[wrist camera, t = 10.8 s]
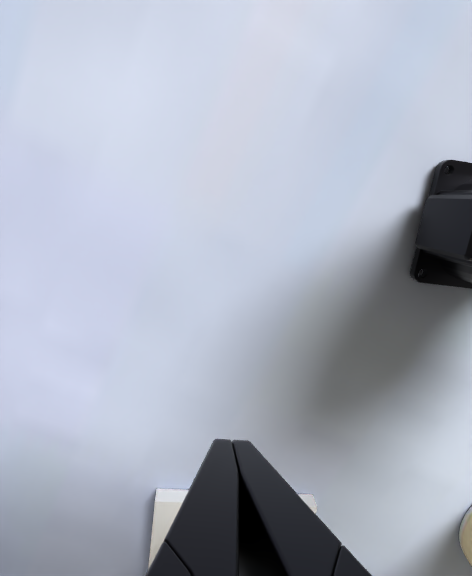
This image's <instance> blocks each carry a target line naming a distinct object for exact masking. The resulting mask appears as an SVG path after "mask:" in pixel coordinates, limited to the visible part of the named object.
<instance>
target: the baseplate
mask: <svg viewBox="0 0 472 576" xmlns="http://www.w3.org/2000/svg"><path fill="white" fill-rule="evenodd" d="M188 491H189V490H183V489H157V490H156V497H155V506H154V516H153V526H152V536H151V546H150V556H149V566H148V569H149V567H150V565H151V564H152V562H153V560H154V558H155V556H156V554H157V552H158V550H159V548H160V546H161V544H162V543H163V542H164V539H165V537H166V535H167V533H168V531H169V529H170V527H171V525H172V523H173V521H174V519H175V517H176V515H177V513H178V511H179V509H180V507H181V505H182V503H183V501H184V499H185V497H186V495H187V493H188ZM298 495H299V496H300V498H301V499H302V500H303V501H304V502H305V503H306V504H307V505H308V506H309V507H310V509H311V510H312V511H313V512H314V513H315V514H316V511H317V505H316V502H315V499H314V497H313V494H298Z"/></svg>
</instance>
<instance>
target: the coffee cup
mask: <svg viewBox="0 0 472 576" xmlns="http://www.w3.org/2000/svg"><path fill="white" fill-rule="evenodd" d="M459 541H460V545H461V548H462V551H463V553H464V555H465V556H466V558H467V560H468V561H469V563H470V565H471V566H472V506H471V507H470V508H469V510H468V511H467V513H466V514H465V516H464V518H463V520H462V523H461V526H460V531H459Z"/></svg>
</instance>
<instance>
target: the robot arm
mask: <svg viewBox="0 0 472 576" xmlns="http://www.w3.org/2000/svg"><path fill="white" fill-rule="evenodd" d="M446 166H448V168H449V172H448V174H446V173H445V168H446ZM416 245H417V246H416V250H415V254H414V258H413V262H412V267H411V271H410V276H411V278H412V279H413V280H415V281H418V282H421V283H430V284H438V285H447V286H455V287H464V288H472V163H468V162H462V161H456V160H445V161H442V162H440V163H439V164H438V165H437V167H436V170H435V174H434V178H433V182H432V186H431V190H430V194H429V197H428V198H427V199H426V203H425V207H424V211H423V215H422V219H421V223H420V227H419V231H418V235H417V239H416ZM421 269H422V270H423V273H422V275H421V276H418V273H419V271H420V270H421ZM341 545H342V544H341V542H340V541H339V540H338V538H337V537H336V536H335V535H334V534H333V533H332V532H331V531H330V530H329V529H328V527H327V526H326V525H325V524H324V523H323V522H322V521H321V520H320V519H319V517H318V516H317V515H316V514H315V513H314V512H313V511H312V510H311V509H310V507H309V506H308V505H307V504H306V503H305V502H304V501H303V500H302V499H301V498H300V496H299V495H298V494H297V493H296V492H295V491H294V490H293V489H292V488H291V486H290V485H289V484H288V483H287V482H286V481H285V480H284V479H283V478H282V477H281V475H280V474H279V473H278V472H277V471H276V470H275V469H274V468H273V467H272V465H271V464H270V463H269V462H268V461H267V460H266V459H265V458H264V457H263V456H262V454H261V453H260V452H259V451H258V450H257V449H256V448H255V447H254V446H253V444H252V443H251V442H249V441H246V440H233V441H232V442H231V440H227V439H215V440H214V441H213V443H212V445H211V447H210V449H209V451H208V453H207V455H206V457H205V459H204V461H203V463H202V465H201V467H200V469H199V471H198V473H197V475H196V477H195V479H194V481H193V483H192V485H191V487H190V489H189V491H188V493H187V495H186V497H185V499H184V501H183V503H182V505H181V507H180V509H179V511H178V513H177V515H176V517H175V519H174V521H173V523H172V525H171V527H170V529H169V531H168V533H167V535H166V537H165V539H164V542H163V543H162V544H161V546H160V548H159V550H158V552H157V554H156V556H155V558H154V560H153V562H152V564H151V565H150V567H149V569H148V571H147V573H146V575H145V576H372V575H371V574H370V573H369V572H368V571H367V570H366V569H365V568H364V567H363V566H362V565H361V564H360V562H359V561H358V560H357V559H356V558H355V557H354V556H353V555H352V554H351V553H350V552H349V550H348V549H347V548H346V547H345V546H341Z"/></svg>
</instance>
